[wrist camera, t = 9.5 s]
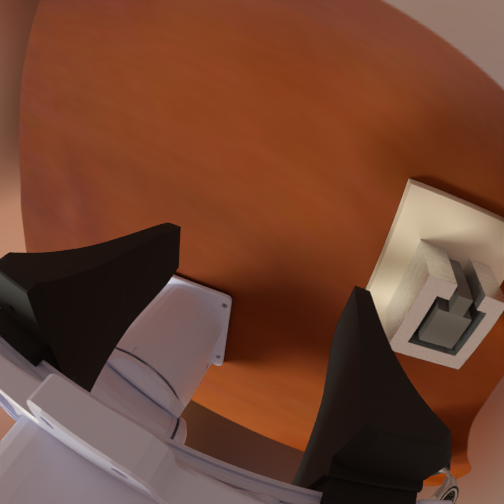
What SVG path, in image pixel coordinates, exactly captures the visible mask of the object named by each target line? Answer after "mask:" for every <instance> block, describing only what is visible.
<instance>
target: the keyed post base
mask: <svg viewBox="0 0 504 504" xmlns="http://www.w3.org/2000/svg"><path fill="white" fill-rule="evenodd" d="M420 239H422V240H425V241H427V242H430V243H432V244H435V245H438V246H440V247H443V248H445V250H446V253H447V255H448V258H449V261H450V264H451V267H452V270H453V273H454V276H455V279H456V282H457V285H458V286H457V287H456V289H455V291H454V293H453V294H452V296H451V298H450V299H449V300H447V299H444V298H441V297H439V296H437V297H436V298H435V300H434V302H433V303H432V305H431V307H430V308H429V310H428V312H427V313H426V315H425V316H424V318H423V319H422V321H421V323H420V324H419V326H418V331H419V340H423V341H426V342H429V343H433V344H436V345H440V346H443V347H447V348H451V349H452V347H453V346H454V345H455V343H456V342H457V341H458V339H459V338H460V337H461V335H462V334H463V332H464V331H465V329H466V328H467V327H468V325H469V324H470V322H471V321H472V318H471V315H470V311H469V307H470V305H471V303H472V302H473V299H472V296H471V293H470V290H469V287H468V284H467V280H466V277H465V275H464V272H463V270H464V268H465V266H466V265H467V263H468V261H469V259H473V260H475V261H478V262H480V263H483V264H485V265H487V266H490V267H491V269H492V271H493V273H494V275H495V277H496V280H497V282H498V284H499V286H500V285H501V283H502V282H503V280H504V218H503V217H501V216H499V215H497V214H495V213H493V212H491V211H488V210H486V209H484V208H482V207H480V206H477V205H475V204H473V203H470V202H468V201H466V200H463V199H461V198H459V197H456V196H454V195H451V194H449V193H447V192H444V191H442V190H439V189H436V188H434V187H431V186H429V185H426V184H423V183H421V182H418V181H415V180H413V179H410V178H409V179H408V182H407V185H406V188H405V191H404V193H403V196H402V199H401V202H400V205H399V208H398V210H397V213H396V216H395V219H394V221H393V224H392V226H391V229H390V232H389V234H388V237H387V239H386V242H385V244H384V247H383V249H382V252H381V254H380V257H379V259H378V262H377V264H376V266H375V269H374V271H373V273H372V276H371V278H370V280H369V283H368V285H367V287H366V290H368V291H370V293H371V295H372V298H373V301H374V304H375V307H376V310H377V313H378V316H379V318H380V321H381V324H382V326H383V329H384V331H385V334H386V323H387V306H388V304H389V302H390V300H391V298H392V296H393V295H394V293H395V291H396V289H397V287H398V285H399V283H400V281H401V279H402V277H403V275H404V273H405V271H406V269H407V267H408V265H409V263H410V261H411V258H412V256H413V254H414V252H415V250H416V248H417V246H418V243H419V241H420Z"/></svg>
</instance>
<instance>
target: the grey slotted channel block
mask: <svg viewBox="0 0 504 504" xmlns="http://www.w3.org/2000/svg"><path fill="white" fill-rule="evenodd" d="M463 272H464V275H465V277H466V280H467V284H468V287H469V290H470V293H471V296H472V299H473V302H472V303H471V305H470V307H469V311H470V315H471V318H472V321H471V322H470V324H469V325H468V327H467V328H466V329H465V331H464V332H463V334H462V335H461V337H460V338H459V339H458V341H457V342H456V343H455V345H454V346H453V347H452V349H451V348H447V347H443V346H440V345H436V344H433V343H429V342H426V341H423V340H419V331H418V326H419V324H420V323H421V321H422V319H423V318H424V316H425V315H426V313H427V312H428V310H429V308H430V307H431V305H432V303H433V302H434V300H435V298H436V297H437V296H439V297H441V298H444V299H447V300H449V299H450V298H451V296H452V294H453V293H454V291H455V289H456V287H457V286H458V285H457V282H456V279H455V276H454V273H453V270H452V267H451V264H450V261H449V258H448V255H447V253H446V250H445V248H443V247H440V246H438V245H435V244H432V243H430V242H427V241H425V240H422V239H420V241H419V243H418V246H417V248H416V250H415V252H414V254H413V256H412V258H411V261H410V263H409V265H408V267H407V269H406V271H405V273H404V275H403V277H402V279H401V281H400V283H399V285H398V287H397V289H396V291H395V293H394V295H393V296H392V298H391V300H390V302H389V304H388V306H387V323H386V336H387V339H388V341H389V343H390V345H391V348H392V350H393V351H395V352H398V353H402V354H405V355H409V356H412V357H416V358H419V359H423V360H426V361H430V362H433V363H437V364H440V365H444V366H448V367H451V368H455V369H459V368H460V367H461V366H462V365H463V364H464V362H465V361H466V360H467V359H468V358H469V356H470V355H471V354H472V353H473V352H474V350H475V349H476V348H477V346H478V345H479V344H480V343H481V341H482V340H483V339H484V337H485V336H486V335H487V333H488V332H489V331H490V329H491V328H492V327H493V325H494V324H495V322H496V321H497V320H498V318H499V317H500V315H501V314H502V312H503V311H504V295H503V292H502V290H501V288H500V286H499V284H498V282H497V280H496V277H495V275H494V273H493V271H492V269H491V267H490V266H487V265H485V264H483V263H480V262H478V261H475V260H473V259H469V261H468V263H467V265H466V266H465V268H464V270H463Z"/></svg>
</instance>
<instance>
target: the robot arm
mask: <svg viewBox="0 0 504 504" xmlns="http://www.w3.org/2000/svg"><path fill="white" fill-rule="evenodd" d="M180 229H181V227H180V226H177V225H174V224H171V223H164V224H160V225H157V226H154V227H151V228H148V229H145V230H142V231H139V232H136V233H133V234H130V235H127V236H124V237H120V238H117V239H114V240H110V241H107V242H104V243H100V244H96V245H92V246H87V247H83V248H78V249H71V250H64V251H56V252H44V253H11V252H10V253H8V254H6V255H5V256H4V257H2V258H1V259H0V406H1V407H2V408H3V409H4V410H5V411H6V412H7V413H8V414H9V415H10V416H11V417H12V418H13V419H14V420H15V421H16V423H15V424H14V426H13V427H12V428H11V429H10V430H9V432H8V433H7V434H6V435H5V437H4V438H3V439H2V440H1V441H0V504H452V501H451V500H432V499H423V500H418V501H416V497H417V492H420V491H421V490H422V487H423V480H425V479H427V478H428V477H430V476H432V475H433V474H435V473H437V472H438V471H440V470H441V469H443V468H444V467H445V466H446V465H447V464H448V463H449V461H450V460H451V433H450V430H449V428H448V427H447V426H446V425H445V424H444V423H443V422H442V421H441V420H440V419H439V418H438V417H437V416H436V415H435V414H434V412H433V411H432V410H431V409H430V407H429V406H428V405H427V404H426V403H425V401H424V400H423V399H422V397H421V396H420V395H419V393H418V392H417V391H416V389H415V388H414V386H413V385H412V383H411V382H410V380H409V379H408V377H407V375H406V374H405V372H404V370H403V369H402V367H401V365H400V363H399V361H398V360H397V358H396V356H395V354H394V352H393V350H392V348H391V345H390V343H389V341H388V339H387V336H386V334H385V331H384V329H383V326H382V324H381V321H380V318H379V316H378V313H377V310H376V307H375V304H374V301H373V298H372V295H371V293H370V291H368V290H366V289H363V288H360V287H357V286H355V287H354V289H353V291H352V293H351V295H350V298H349V300H348V302H347V304H346V306H345V308H344V310H343V313H342V315H341V317H340V319H339V321H338V323H337V326H336V330H335V333H334V337H333V341H332V344H331V350H330V356H329V363H328V369H327V375H326V381H325V387H324V393H323V397H322V402H321V405H320V409H319V412H318V415H317V418H316V421H315V425H314V428H313V430H312V433H311V436H310V439H309V442H308V445H307V447H306V450H305V453H304V455H303V458H302V460H301V463H300V466H299V468H298V470H297V473H296V475H295V478H294V480H293V482H292V484H288V483H284V482H281V481H277V480H274V479H271V478H267V477H265V476H261V475H258V474H256V473H253V472H249V471H247V470H244V469H241V468H239V467H236V466H233V465H231V464H228V463H225V462H223V461H220V460H218V459H215V458H213V457H210V456H208V455H206V454H203V453H200V452H199V451H196V450H194V449H192V448H189V447H187V446H185V445H184V443H185V440H186V436H187V430H186V422H185V420H184V419H183V418H181V417H180V415H181V413H182V411H183V410H184V408H185V406H186V405H187V404H188V403H189V401H190V400H191V398H192V396H193V394H194V393H195V391H196V389H197V388H198V386H199V384H200V383H201V381H202V379H203V377H204V376H205V374H206V372H207V371H208V369H209V367H210V365H211V364H212V363H213V364H215V365H218V366H221V365H222V364H223V361H224V354H225V347H226V340H227V333H228V326H229V319H230V312H231V305H232V298H231V297H230V296H229V295H227V294H225V293H222V292H219V291H216V290H214V289H211V288H208V287H205V286H203V285H200V284H197V283H194V282H192V281H189V280H186V279H184V278H181V277H178V276H176V275H174V273H175V272H176V270H177V269H178V267H179V247H180ZM224 303H225V304H226V305H225V304H224Z"/></svg>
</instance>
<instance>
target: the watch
mask: <svg viewBox="0 0 504 504" xmlns="http://www.w3.org/2000/svg"><path fill="white" fill-rule="evenodd" d="M449 470H450V461H449V463H448V464H447V465H446V466H445V467H444V468H443V469H441V470H440V471H438V472H437V473H435V474H433V475H436V474H440V473H443V472H444V473H445V474H447V477H446V478H445V480H444V482H443V484H442V486H441V487H440V488H438V490H437V491H436V492H435V493H434V494H433V495H432V496H431V498H430V499H432V500H451V501H452V504H455V502H456V500H457V497H458V493H459V488H458V486H457V482H456V479H455V478H454V476H453V475H452V474H451V473H450V472H449ZM433 475H432V476H433Z"/></svg>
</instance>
